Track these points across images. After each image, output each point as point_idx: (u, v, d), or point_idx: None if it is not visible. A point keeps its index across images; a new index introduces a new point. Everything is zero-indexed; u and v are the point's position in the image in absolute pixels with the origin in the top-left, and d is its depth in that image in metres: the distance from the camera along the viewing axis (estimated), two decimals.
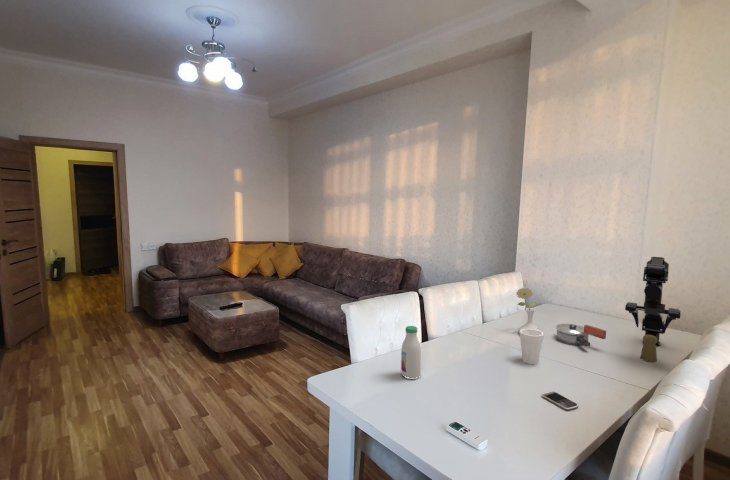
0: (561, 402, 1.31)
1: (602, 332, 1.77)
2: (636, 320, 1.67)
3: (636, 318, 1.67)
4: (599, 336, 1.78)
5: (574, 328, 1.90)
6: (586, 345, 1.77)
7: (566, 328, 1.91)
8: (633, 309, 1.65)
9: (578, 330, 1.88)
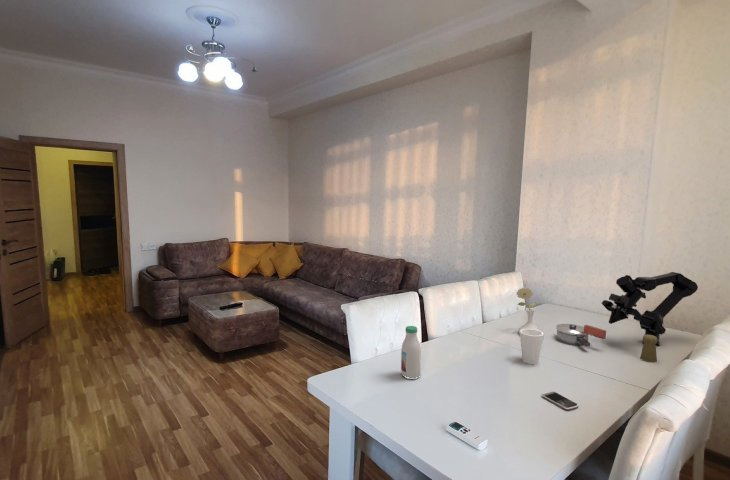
0: (561, 402, 1.31)
1: (602, 332, 1.77)
2: (611, 316, 1.83)
3: (612, 314, 1.83)
4: (599, 336, 1.78)
5: (574, 328, 1.90)
6: (586, 345, 1.77)
7: (566, 328, 1.91)
8: (606, 302, 1.88)
9: (578, 330, 1.88)
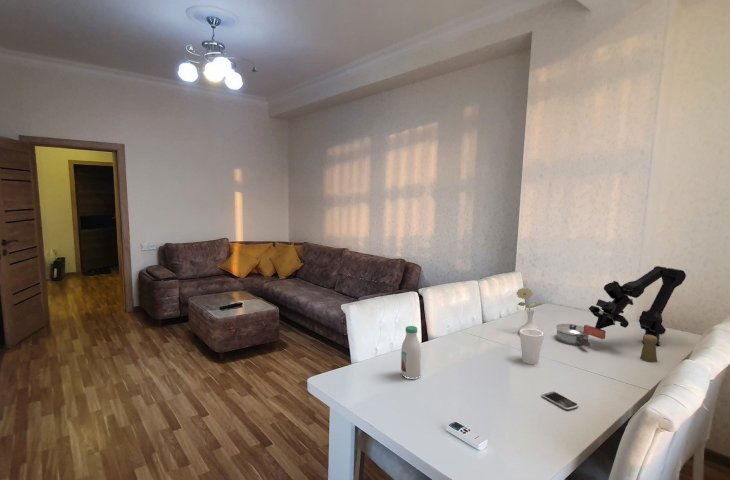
0: (561, 402, 1.31)
1: (601, 332, 1.76)
2: (597, 322, 1.82)
3: (598, 320, 1.82)
4: (598, 336, 1.78)
5: (574, 328, 1.90)
6: (586, 345, 1.77)
7: (566, 328, 1.91)
8: (593, 308, 1.87)
9: (578, 330, 1.88)
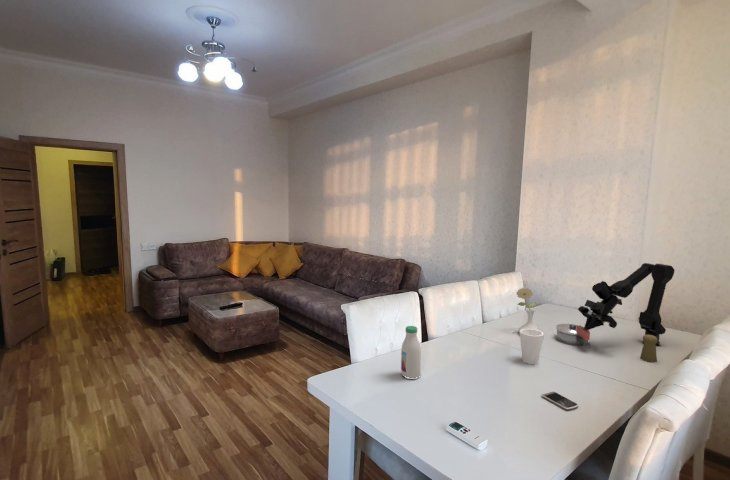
0: (561, 402, 1.31)
1: (585, 333, 1.76)
2: (586, 322, 1.81)
3: (587, 320, 1.81)
4: (583, 337, 1.77)
5: (572, 328, 1.90)
6: (586, 345, 1.77)
7: (565, 327, 1.93)
8: (582, 308, 1.86)
9: (575, 330, 1.88)
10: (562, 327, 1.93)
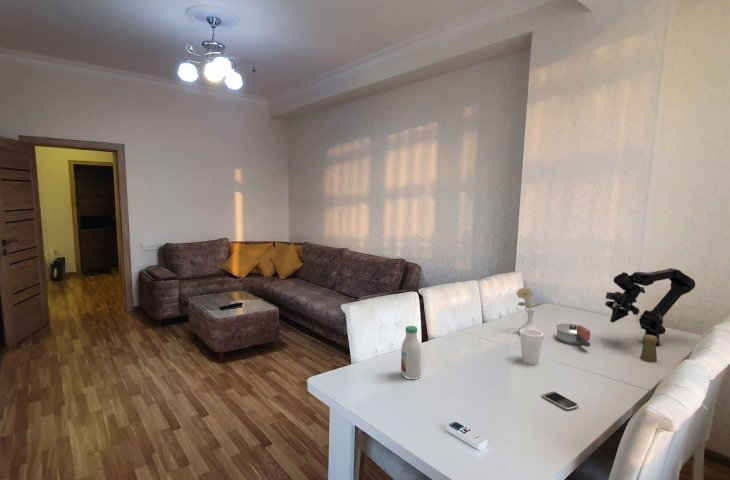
0: (561, 402, 1.31)
1: (585, 333, 1.76)
2: (612, 314, 1.83)
3: (613, 313, 1.83)
4: (583, 337, 1.77)
5: (572, 328, 1.90)
6: (586, 345, 1.77)
7: (565, 327, 1.93)
8: (608, 302, 1.89)
9: (575, 330, 1.88)
10: (562, 327, 1.93)
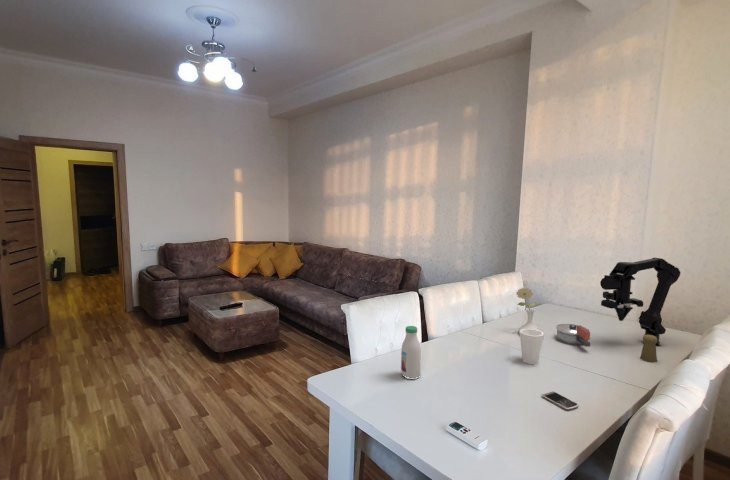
0: (561, 402, 1.31)
1: (585, 333, 1.76)
2: None
3: None
4: (583, 337, 1.77)
5: (572, 328, 1.90)
6: (586, 345, 1.77)
7: (565, 327, 1.93)
8: None
9: (575, 330, 1.88)
10: (562, 327, 1.93)
